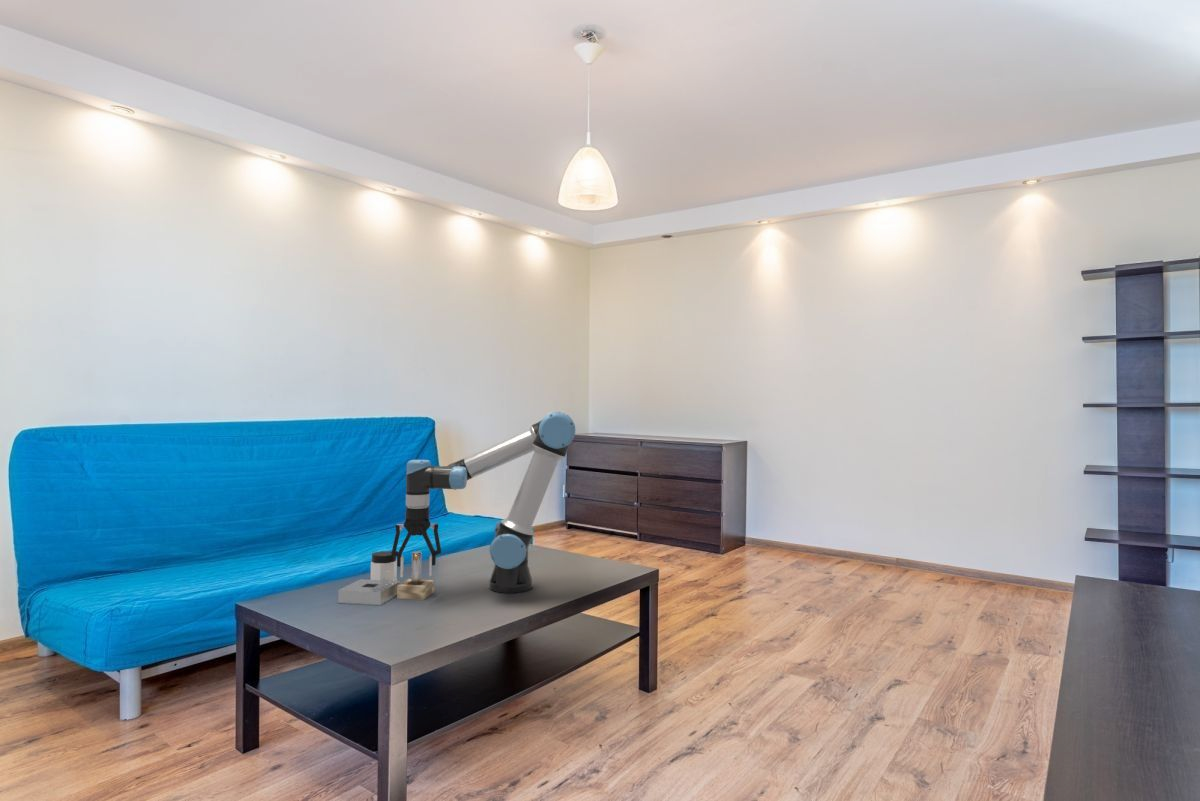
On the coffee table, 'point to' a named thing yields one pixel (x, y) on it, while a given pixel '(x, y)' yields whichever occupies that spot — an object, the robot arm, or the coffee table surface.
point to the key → (416, 568)
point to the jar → (384, 566)
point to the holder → (415, 590)
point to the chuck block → (368, 592)
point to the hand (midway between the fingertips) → (416, 575)
